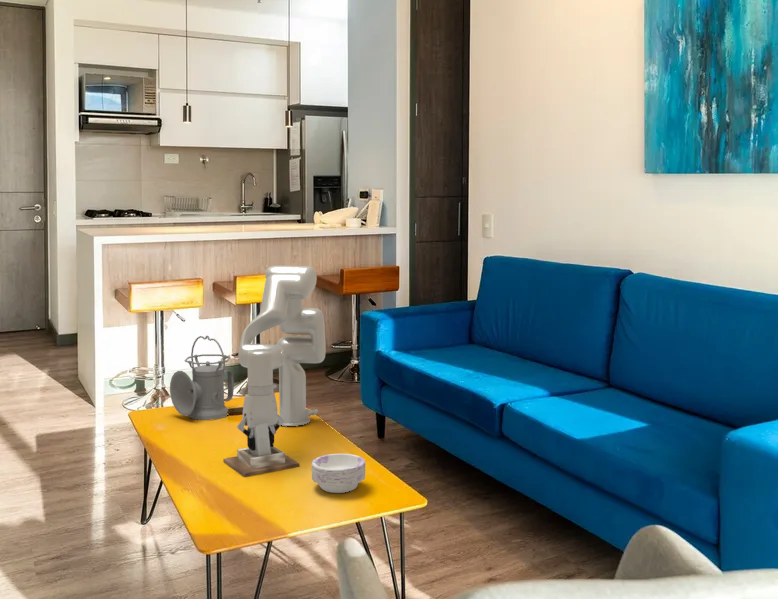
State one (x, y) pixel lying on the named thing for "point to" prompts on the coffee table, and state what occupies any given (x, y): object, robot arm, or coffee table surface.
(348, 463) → the paper bowls
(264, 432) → the skincare box
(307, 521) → the coffee table surface
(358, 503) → the coffee table surface
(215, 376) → the lantern
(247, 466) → the socket board
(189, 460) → the coffee table surface
